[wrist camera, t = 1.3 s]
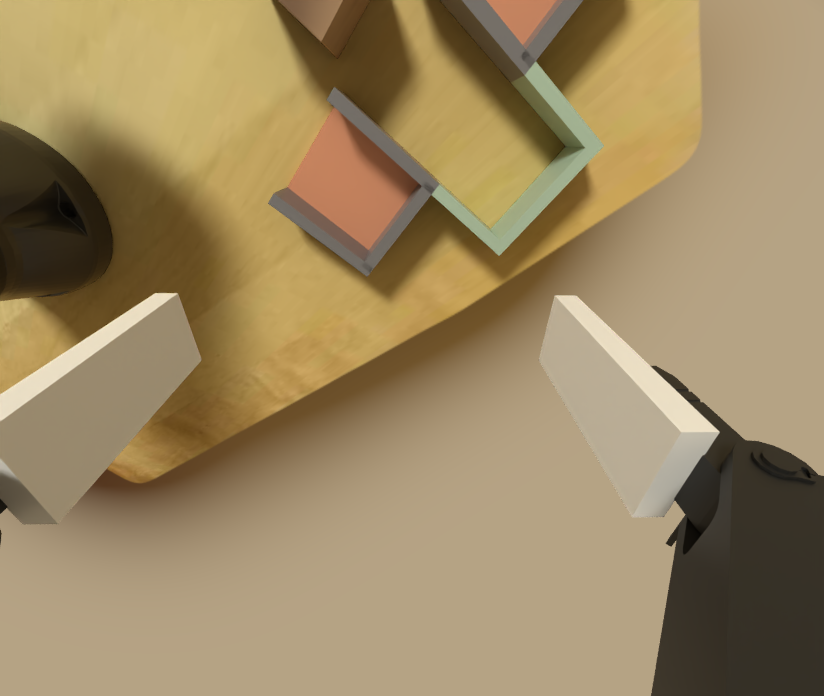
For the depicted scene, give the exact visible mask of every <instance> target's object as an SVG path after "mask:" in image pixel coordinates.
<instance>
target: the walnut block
mask: <svg viewBox="0 0 824 696" xmlns="http://www.w3.org/2000/svg"><path fill="white" fill-rule="evenodd" d="M277 1H278V2H279V3H280V4H281V5H282V6H283V7H284V8H285V9H286V10H287V11H288V12H290V13H291V14H292V15H293V16H294V17H295V18H296V19H297V20H298V21H299V22H300V23H301V24H302V25H303V26H304V27H305V28H306V29H307V30H308V31H309V32H310V33H311V34H312V35H313V36H314V37H315V38H317V39H318V40H319V41H320V42H321V43H322V44H323V45H324V46H325V47H326V48H327V49H328V50H329V51H330V52H331V53H332V54H333V55H334V56H335V57H336V58H337V59H338V58H339V56H340V54H341V52H342V50H343V49H344V47H345V45H346V43H347V41H348V40H349V38H350V36H351V34H352V32H353V31H354V29H355V27H356V25H357V23H358V21H359V20H360V18H361V16H362V14H363V12H364V11H365V9H366V7H367V5H368V3H369V2H370V0H277Z"/></svg>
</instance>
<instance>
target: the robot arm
mask: <svg viewBox="0 0 824 696" xmlns="http://www.w3.org/2000/svg"><path fill="white" fill-rule="evenodd" d="M111 255H112V235H111V230H110V226H109V223H108V219H107V217H106V214H105V212H104V210H103V208H102V206H101V204H100V202H99V200H98V198H97V197H96V195H95V193H94V192H93V190H92V189H91V188H90V186H89V185H88V183H87V182H86V181H85V180H84V178H83V177H82V176H81V175H80V174H79V173H78V171H77V170H76V169H75V168H74V167H73V166H72V165H71V164H70V163H69V162H68V161H67V160H66V159H65V158H63V157H62V156H61V155H60V154H59V153H58V152H56V151H55V150H54V149H53V148H51V147H50V146H49V145H47V144H46V143H44V142H43V141H41V140H40V139H38V138H37V137H35V136H33V135H32V134H30V133H28V132H26V131H24V130H22V129H20V128H18V127H16V126H14V125H11V124H9V123H6V122H3V121H0V301H4V300H13V299H21V298H29V297H48V296H58V295H63V294H67V293H70V292H73V291H75V290H78V289H80V288H82V287H84V286H86V285H88V284H90V283H92V282H94V281H96V280H97V279H98V278H99V277H100V276H101V275H102V274H103V273H104V272H105V271H106V269H107V267H108V265H109V263H110V260H111ZM201 360H202V359H201V356H200V353H199V351H198V348H197V345H196V342H195V339H194V337H193V334H192V331H191V328H190V325H189V323H188V320H187V317H186V314H185V312H184V309H183V306H182V303H181V300H180V298H179V295H178V293H155V294H153V295H152V296H150V297H149V298H147V299H146V300H144V301H142V302H141V303H139V304H138V305H136V306H135V307H133V308H132V309H130V310H129V311H127V312H126V313H124V314H123V315H121V316H120V317H118V318H117V319H115V320H113V321H112V322H110V323H109V324H107V325H106V326H104V327H103V328H101V329H100V330H98V331H97V332H95V333H94V334H92V335H91V336H89V337H87V338H86V339H84V340H83V341H81V342H80V343H78V344H77V345H75V346H74V347H72V348H71V349H69V350H68V351H66V352H65V353H63V354H61V355H60V356H58V357H57V358H55V359H54V360H52V361H51V362H49V363H48V364H46V365H45V366H43V367H42V368H40V369H39V370H37V371H36V372H34V373H32V374H31V375H29V376H28V377H26V378H25V379H23V380H22V381H20V382H19V383H17V384H16V385H14V386H13V387H11V388H10V389H8V390H6V391H5V392H3V393H2V394H0V514H1V513H2V512H3V511H4V510H5V509H6V508H8V509H9V511H11V513H12V514H13V515H14V516H15V517H16V518H17V519H18V520H19V521H20V522H21V523H22V524H58V523H59V522H60V521H61V520H62V519H63V518H64V516H65V515H66V514H67V513H68V512H69V511H70V510H71V508H72V507H73V506H74V505H75V504H76V503H77V502H78V500H79V499H80V498H81V497H82V496H83V495H84V494H85V493H86V491H87V490H88V489H89V488H90V487H91V486H92V485H93V483H94V482H95V481H96V480H97V479H98V478H99V477H100V475H101V474H102V473H103V472H104V471H105V470H106V469H107V467H108V466H109V465H110V464H111V463H112V462H113V461H114V459H115V458H116V457H117V456H118V455H119V454H120V453H121V452H122V450H123V449H124V448H125V447H126V446H127V445H128V444H129V442H130V441H131V440H132V439H133V438H134V437H135V436H136V434H137V433H138V432H139V431H140V430H141V429H142V428H143V426H144V425H145V424H146V423H147V422H148V421H149V420H150V418H151V417H152V416H153V415H154V414H155V413H156V412H157V411H158V409H159V408H160V407H161V406H162V405H163V404H164V403H165V401H166V400H167V399H168V398H169V397H170V396H171V395H172V393H173V392H174V391H175V390H176V389H177V388H178V387H179V385H180V384H181V383H182V382H183V381H184V380H185V379H186V377H187V376H188V375H189V374H190V373H191V372H192V371H193V370H194V368H195V367H196V366H197V365H198V364H199V363H200V362H201ZM539 361H540V363H541V365H542V366H543V368H544V370H545V372H546V373H547V375H548V377H549V378H550V380H551V382H552V383H553V385H554V387H555V388H556V390H557V392H558V393H559V395H560V397H561V399H562V400H563V402H564V404H565V405H566V407H567V409H568V410H569V412H570V414H571V415H572V417H573V419H574V420H575V422H576V424H577V426H578V427H579V429H580V431H581V432H582V434H583V436H584V437H585V439H586V441H587V442H588V444H589V446H590V447H591V449H592V451H593V453H594V454H595V456H596V458H597V459H598V461H599V463H600V464H601V466H602V468H603V469H604V471H605V473H606V474H607V476H608V478H609V479H610V481H611V483H612V484H613V486H614V488H615V489H616V491H617V493H618V495H619V496H620V498H621V500H622V501H623V503H624V505H625V506H626V508H627V510H628V511H629V513H630V515H631V516H632V517H664V516H665V514H666V513H667V511H668V510H669V508H670V507H671V505H672V504H673V502H674V501H676V502H677V504H678V505H679V506H680V508H681V509H682V510H683V512H684V513H685V514H686V515H685V516H684V518H683V519H682V521H681V522H680V523H679V525H678V526H677V527H676V529H675V530H674V532H673V533H672V534H671V536H670V537H669V539H668V541H667V542H666V544H668V545H669V546H672V545H673V543H674V542H675V541H676V540H677V541H676V547H675V554H674V560H673V566H672V572H671V578H670V584H669V590H668V596H667V603H666V608H665V615H664V620H663V627H662V633H661V639H660V645H659V651H658V657H657V663H656V670H655V676H654V682H653V688H652V693H651V696H824V476H820V475H818V474H817V473H816V472H815V471H814V470H813V469H812V468H811V467H810V466H808V465H807V464H806V463H805V462H803V461H802V460H800V459H799V458H797V457H796V456H794V455H792V454H791V453H789V452H786V451H784V450H782V449H780V448H778V447H775V446H773V445H769V444H766V443H762V442H759V441H747V440H744V439H743V438H742V437H741V436H740V435H739V434H738V433H737V432H736V431H734V430H733V429H732V428H731V427H730V426H729V425H728V424H727V423H725V422H724V421H723V420H722V419H721V418H720V417H719V416H718V415H717V414H716V413H714V412H713V411H712V410H711V409H710V408H709V407H707V405H706V404H704V403H703V402H700V399H699V398H698V397H697V396H696V395H694V394H693V393H692V392H689V391H688V388H687V387H686V386H684V385H683V384H682V383H681V382H680V381H679V380H678V379H677V378H675V377H674V376H673V375H671V374H669V373H667V372H665V371H664V370H662V369H660V368H659V367H657V366H650V365H649V364H648V363H646V362H645V361H644V360H643V359H642V358H641V357H640V356H639V355H638V354H637V353H636V352H635V351H634V350H633V349H632V348H631V347H630V346H629V345H628V344H626V343H625V342H624V341H623V340H622V339H621V338H620V337H619V336H618V335H617V334H616V333H615V332H614V331H613V330H612V329H611V328H610V327H609V326H607V325H606V324H605V323H604V322H603V321H602V320H601V319H600V318H599V317H598V316H597V315H596V314H595V313H594V312H593V311H592V310H591V309H589V307H587V306H586V305H585V304H584V303H583V302H582V301H581V300H580V299H579V298H578V297H577V296H555V297H554V301H553V305H552V309H551V313H550V317H549V321H548V325H547V329H546V333H545V337H544V341H543V345H542V349H541V353H540V357H539ZM0 543H1V530H0Z"/></svg>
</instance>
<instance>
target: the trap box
mask: <svg viewBox="0 0 824 696" xmlns="http://www.w3.org/2000/svg"><path fill="white" fill-rule="evenodd" d="M440 1H441V2H442V3H443V5H444V6H445V7H446V8H447V9H448V10H449V12H450V13H451V14H452V15H453V16H454V17H455V19H456V20H457V21H458V22H459V23H460V24H461V26H462V27H463V28H464V29H465V30H466V31H467V33H468V34H469V35H470V36H471V37H472V38H473V39H474V41H475V42H476V43H477V44H478V45H479V46H480V48H481V49H482V50H483V51H484V52H485V53H486V55H487V56H488V57H489V58H490V59H491V60H492V62H493V63H494V64H495V65H496V66H497V67H498V68H499V70H500V71H501V72H502V73H503V74H504V75H505V77H506V78H507V79H508V80H509V81H510V82H511V84H512V85H513V86H514V87H515V88H516V89H517V91H518V92H519V93H520V94H521V95H522V96H523V98H524V99H525V100H526V101H527V102H528V103H529V104H530V106H531V107H532V108H533V109H534V110H535V111H536V113H537V114H538V115H539V116H540V117H541V118H542V120H543V121H544V122H545V123H546V124H547V125H548V127H549V128H550V129H551V130H552V131H553V132H554V133H555V135H556V136H557V137H558V138H559V139H560V140H561V142H562V143H563V144H564V145H565V146H566V147H565V148H564V149H563V150H562V151H561V152H560V153H559V154H558V155H557V156H556V158H555V159H554V160H553V161H552V162H551V163H550V164H549V165H548V166H547V168H546V169H545V170H544V171H543V172H542V173H541V174H540V175H539V176H538V177H537V179H536V180H535V181H534V182H533V183H532V184H531V185H530V186H529V187H528V189H527V190H526V191H525V192H524V193H523V194H522V195H521V196H520V197H519V199H518V200H517V201H516V202H515V203H514V204H513V205H512V206H511V207H510V208H509V210H508V211H507V212H506V213H505V214H504V215H503V216H502V217H501V218H500V220H499V221H498V222H497V223H496V224H495V225H494V226H493V227H492V228H491V229H490V228H489V227H488V226H486V225H485V224H484V223H483V222H482V221H481V220H480V219H479V218H478V217H477V216H476V215H475V214H474V213H472V212H471V211H470V210H469V209H468V208H467V207H466V206H465V205H464V204H463V203H462V202H461V201H460V200H458V199H457V198H456V197H455V196H454V195H453V194H452V193H451V192H450V191H449V190H448V189H447V188H446V187H444V186H443V185H442V184H441V183H440V182H439V181H438V180H437V179H436V178H435V177H434V176H433V175H432V174H430V173H429V172H428V171H427V170H426V169H425V168H424V167H423V166H422V165H421V164H420V163H419V162H418V161H417V160H415V159H414V158H413V157H412V156H411V155H410V154H409V153H408V152H407V151H406V150H405V149H404V148H403V147H401V146H400V145H399V144H398V143H397V142H396V141H395V140H394V139H393V138H392V137H391V136H390V135H389V134H387V133H386V132H385V131H384V130H383V129H382V128H381V127H380V126H379V125H378V124H377V123H376V122H375V121H373V120H372V119H371V118H370V117H369V116H368V115H367V114H366V113H365V112H364V111H363V110H362V109H361V108H359V107H358V106H357V105H356V104H355V103H354V102H353V101H352V100H351V99H350V98H349V97H348V96H347V95H346V94H344V93H343V92H342V91H340V90H339V89H337V88H336V87H334V88H333V90H332V91H331V93H330V95H329V97H328V98H327V101H328V102H329V103H331V104H332V105H333V106H334V108H333V109H332V111H331V113H330V115H329V116H328V118H327V120H326V122H325V123H324V125H323V127H322V128H321V130H320V132H319V134H318V135H317V137H316V139H315V141H314V142H313V144H312V146H311V147H310V149H309V151H308V153H307V154H306V156H305V158H304V160H303V161H302V163H301V165H300V166H299V168H298V170H297V172H296V173H295V175H294V177H293V179H292V180H291V182H290V184H289V185H288V187H287V188H285V189H282V190H280V191H278V192H275V193H274V194H273V196H272V197H271V199H270V201H269V203H268V204H270V205H271V206H272V207H274V208H275V209H276V210H278V211H279V212H281V213H282V214H283V215H285V216H286V217H287V218H289V219H290V220H291V221H293V222H294V223H295V224H297V225H298V226H299V227H301V228H302V229H303V230H305V231H306V232H308V233H309V234H310V235H312V236H313V237H314V238H316V239H317V240H318V241H320V242H321V243H322V244H324V245H325V246H326V247H328V248H329V249H330V250H332V251H333V252H334V253H336V254H337V255H339V256H340V257H341V258H343V259H344V260H345V261H347V262H348V263H349V264H351V265H352V266H353V267H355V268H356V269H357V270H359V271H360V272H361V273H363V274H364V275H366V276H367V277H368V275H369V274H370V273H371V271H372V270H373V269H374V268H375V266H376V265H377V264H378V262H379V261H380V260H381V259H382V257H383V256H384V255H385V254H386V252H387V251H388V250H389V248H390V247H391V246H392V245H393V243H394V242H395V241H396V239H397V238H398V237H399V236H400V234H401V233H402V232H403V230H404V229H405V228H406V227H407V225H408V224H409V223H410V221H411V220H412V219H413V218H414V216H415V215H416V214H417V213H418V211H419V210H420V209H421V207H422V206H423V205H424V204H425V202H426V201H427V200H428V198H429V197H430V196H431V195H432V196H433V197H435V198H436V199H437V200H438V201H439V202H440V203H441V204H442V205H443V206H444V207H446V208H447V209H448V210H449V211H450V212H451V213H452V214H453V215H454V216H456V217H457V218H458V219H459V220H460V221H461V222H462V223H463V224H464V225H465V226H467V227H468V228H469V229H470V230H471V231H472V232H473V233H474V234H475V235H477V236H478V237H479V238H480V239H481V240H482V241H483V242H484V243H485V244H487V245H488V246H489V247H490V248H491V249H492V250H493V251H494V252H495V253H496V254H498V255H499V256H500V255H501V254H502V253H503V251H504V250H505V249H506V248H507V247H508V246H509V245H510V244H511V243H512V242H513V241H514V240H515V239H516V238H517V237H518V236H519V235H520V234H521V233H522V232H523V230H524V229H525V228H526V227H527V226H528V225H529V224H530V223H531V222H532V221H533V220H534V219H535V218H536V217H537V216H538V215H539V214H540V213H541V212H542V211H543V209H544V208H545V207H546V206H547V205H548V204H549V203H550V202H551V201H552V200H553V199H554V198H555V197H556V196H557V195H558V194H559V193H560V192H561V191H562V190H563V188H564V187H565V186H566V185H567V184H568V183H569V182H570V181H571V180H572V179H573V178H574V177H575V176H576V175H577V174H578V173H579V172H580V171H581V170H582V169H583V167H584V166H585V165H586V164H587V163H588V162H589V161H590V160H591V159H592V158H593V157H594V156H595V155H596V154H597V153H598V152H599V151H600V150H601V149H602V148H603V147H604V145H603V144H602V142H601V141H600V140H599V139H598V138H597V136H596V135H595V134H594V133H593V131H592V130H591V129H590V128H589V126H588V125H587V124H586V123H585V121H584V120H583V119H582V118H581V117H580V115H579V114H578V113H577V112H576V110H575V109H574V108H573V107H572V105H571V104H570V103H569V102H568V101H567V99H566V98H565V97H564V96H563V94H562V93H561V92H560V91H559V89H558V88H557V87H556V86H555V84H554V83H553V82H552V81H551V80H550V78H549V77H548V76H547V75H546V73H545V72H544V71H543V70H542V68H541V67H540V66H539V65H538V64H537V62H536V60H537V59H538V58H539V56H540V55H541V54H542V53H543V51H544V50H545V49H546V47H547V46H548V45H549V44H550V42H551V41H552V40H553V38H554V37H555V36H556V35H557V33H558V32H559V31H560V29H561V28H562V27H563V26H564V24H565V23H566V22H567V20H568V19H569V18H570V17H571V15H572V14H573V13H574V12H575V10H576V9H577V8H578V6H579V5H580V4H581V3H582V1H583V0H440Z"/></svg>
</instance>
